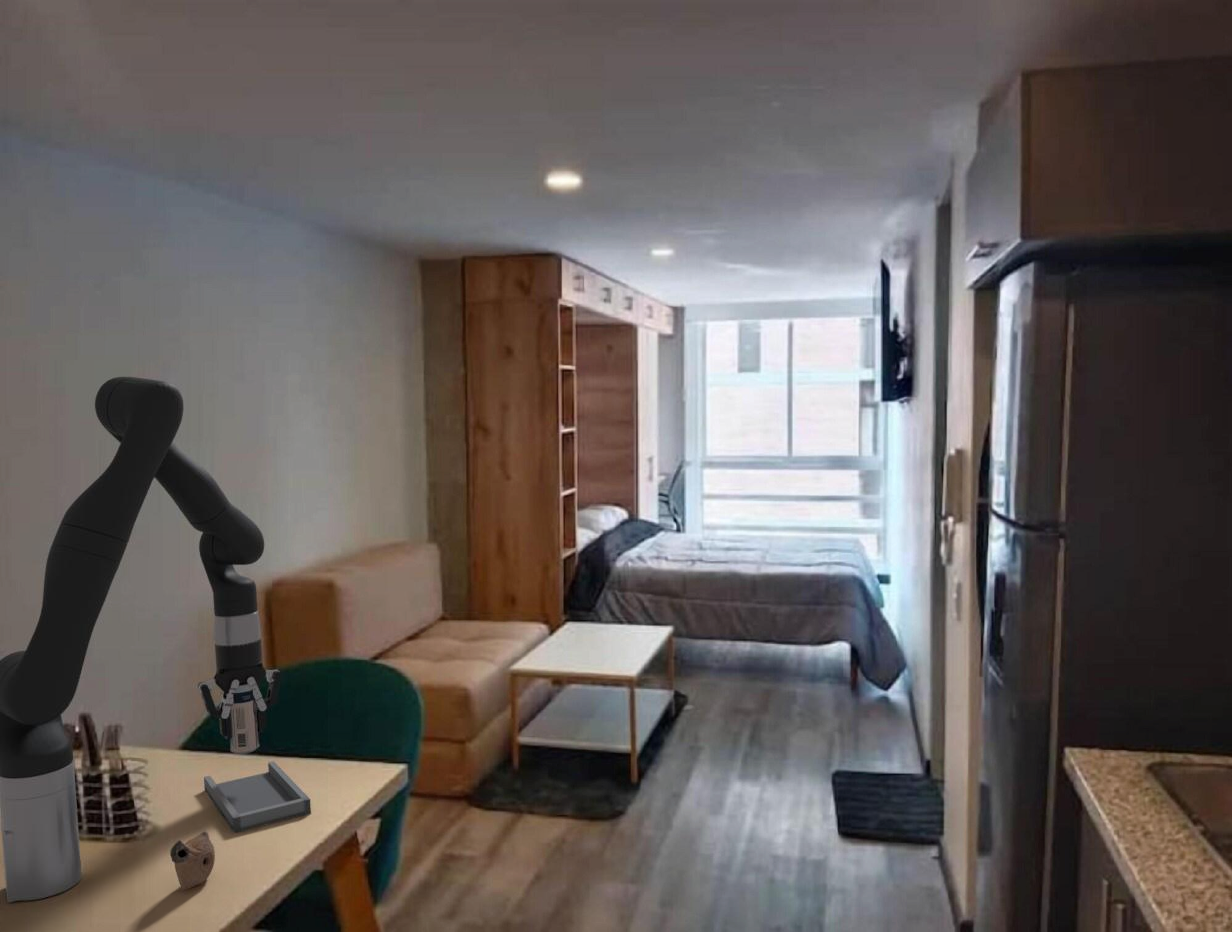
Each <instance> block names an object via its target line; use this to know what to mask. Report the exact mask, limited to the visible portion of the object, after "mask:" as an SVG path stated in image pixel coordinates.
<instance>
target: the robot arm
mask: <svg viewBox="0 0 1232 932" xmlns="http://www.w3.org/2000/svg"><path fill="white" fill-rule="evenodd" d="M94 400H95V401H94V410H95V411H94V412H95V414H96V417H97V420H98V422H100V424H101V425H102V427H103V428H104V429H105V430H106V431H107V432H108V433H109V434H110V435H111V436H112V437H113V438H114V439H115V440H116V441H118V443H120V444H119V446H118V449H117V451H116V453H115V455H114V456H113V459H112V460H111V462H110V464H109V465H108V466H107V468H105V470H104V471H103V472H102V473H101V475H99V476H98V477H97V479H96V480H94V481H93V483H91V484H90V485H89V486H87V488H86V489H85V490H84V491H83V492H82V493H81V494H79V496H77V498H76V499H75V500H74V501H73V503H72V504H71V505H70V506H69V507H68V509H67V510H66V511H65V513H64V515H63V517H62V518H61V521H60V524H59V525H58V528H57V531H56V533H55V536H54V538H53V541H52V544H51V546H50V549H49V552H48V555H47V559H46V562H45V563H46V564H45V571H44V578H43V579H44V580H43V592H42V604H41V610H40V615H39V617H38V621H37V624H36V627H35V630H34V631H33V634H32V636H31V638H30V641H29V643H28V645H27V646H26V649H25V650H19V651H15V652H12V653H9V654H7V655H6V656H4V657H3V658H1V659H0V828H1V829H0V831H1V841H2V842H1V843H2V855H3V856H2V857H3V868H4V881H5V883H4V884H5V892H6V902H7V903H13V902H17V901H33V900H39V899H40V900H41V899H46V898H47V897H53V896H54V895H57V894H60V893H63V892H65V891H67V890H69V889H70V888H72V887H74V886H75V885H77V883H78V882H80V880H81V878H82V859H81V851H80V850H81V847H80V846H81V845H80V836H79V835H80V834H79V822H78V821H79V819H78V808H77V807H78V805H77V794H76V789H77V788H76V779H75V775H76V774H75V762H74V761H75V760H74V750H73V743H72V741H71V739H70V737H69V735H68V734H67V731H66V730H65V729H66V728H65V725H64V723H63V720H62V714H63V713H64V712H65V711H66V710H67V709H68V708H69V706H70V705H71V702H72V701H73V699H74V697H75V695H76V692H77V690H78V689H77V688H78V685H79V682H80V679H81V675H82V669H83V666H84V664H85V659H86V655H87V651H88V648H89V644H90V641H91V638H92V635H93V632H94V628H95V626H96V624H97V622H98V621H97V620H98V618H99V616H100V615H101V614H100V613H101V611H102V609H103V607H104V604H105V602H106V599H107V596H108V594H109V591H110V589H111V587H112V586H111V585H112V583H113V581H114V578H115V576H116V573H117V572H118V569H119V566H120V564H121V562H122V560H123V556H124V554H125V552H126V549H127V546H128V543H129V542H130V538H131V535H132V532H133V530H134V526H135V523H136V521H137V518H138V516H139V513H140V512H141V509H142V507H143V505H144V501H145V500H146V497H147V495H148V492H149V490H150V487H151V485H152V483H153V480H154V479H155V480H156V482H158V483H159V484H160V486H161V487H162V488H163V489H164V490H165V492H167V495H169V496H170V498H171V499H172V500H173V502H174V503H175V504H176V506H177V507H178V509H179V510H180V512H182V514H183V516H184V517H185V519H186V520H187V521H188V523H189V524H190V525H191V527H193V528H194V529H195V530H196V531H198V532H201V536H200V539H199V542H198V551H199V556H200V559H201V563H202V565H203V568H204V571H205V574H206V576H207V578H208V579H207V580H208V583H209V585H210V587H211V589H212V595H213V596H212V598H213V613H214V620H213V621H214V623H213V632H214V633H213V641H214V652H215V666H216V667H215V668H216V671H215V675H214V676H213V679H210V680H207V681H205V682H204V681H201V682H198V685H197V687H198V690H199V692H200V693H199V694H200V696H201V698H202V701H203V704H204V707H205V710H206V712H207V713H208V715H209V716H210V717H212V718H219V732H220V734H221V735H222V737H224V738H225V739H226V740H230V739H231V726H230V718H229V713H230V709H231V706H232V705H233V702H234V701H233V694H231V693H233V692H234V690H237V689H238V686H239V685H245V684H249V686H250V687H252V688H255V689H253V695H254V698H255V700H256V710H257V726H258V734H259V733H263V732H264V729H266V728H267V713H266V712H267V709H268V708H270V707H272V706H275V705H277V701H278V696H279V692H280V687H281V683H282V682H281V680H282V676H283V674H282V672H281V671H280V670H278V669H276V668H274V669H270V670H269V669H266V667H264V664H263V650H262V647H263V646H262V635H261V632H262V631H261V622H260V616H259V611H258V610H259V609H258V597H257V593H258V592H257V584H256V582H255V580H253V579H252V578H250V577H246V576H243V575H241V574H239V573H237V571H236V568H235V566H246V565H247V566H248V565H253V564H254V563H256V562H257V561H259V560H260V559H261V557H262V556H263V553H264V550H265V539H264V536H263V535H264V534H263V533H262V531H261V529H260V527H259V526H257V524H256V523H255V522H254V521H253V520H252V519H251V518H249V517H248V515H246V514H245V513H243V511H242V510H240V509H239V508H238V507H236V506H235V505H234V504H232V503H231V502H230V501H229V499H228V498H227V496H226V494H225V493H224V491H223V490H222V489H221V487H220V486H219V484H218V482H217V481H216V479H214V477H213V476H212V475H211V473H210V472H208V470H207V469H205V468H204V466H202V465H201V464H200V463H198V461H196V460H195V459H194V458H192V457H191V456H190V455H189V454H188V453H186V452H185V451H184V450H183V449H182V448H180V447H179V446H178V445H177V444H176V443H175V441H174V439H175V438H176V435H177V433H178V431H179V429H180V426H181V423H182V420H183V416H184V414H183V413H184V398H183V396H182V393H181V392H180V390H179V389H178V388H177V386H175V385H174V384H173V383H171V382H167V381H163V380H157V379H152V378H143V377H136V376H116V377H113V378H110V379H108V380H106V381H105V382H104V383H102V385H101V386H100V387H99V389H98V391H97V394H96V395H95V399H94ZM265 677H266V681H267V682H268V687H267V692H266V697H265V698H263V695H262V693H261V691H260V688H259V687H260V685H261V684H262V683H263V681H264V679H265ZM216 686H217V687H218V688H219V689H220V690H222V691H223V692H222V696H221V698H220V699H221V700H220V704H219V705H220V706H219V708H218V707H216V704H215V701H214V698H213V696H212V694H214V692H215V687H216Z"/></svg>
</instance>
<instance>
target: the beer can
mask: <svg viewBox="0 0 1232 932" xmlns="http://www.w3.org/2000/svg"><path fill="white" fill-rule="evenodd" d="M253 689H255V688H252V687H250V686H249V684H245V685H239V686H238V689H237V690H234V692H233V693H231V694H233V701H234V702H233V705H232V706H231V709H230V713H229V716H228V717H229V718H230V726H231V739H229V742H230V749H229V750H230V752H231V753H234V754H237V755H244V754H245V755H246V754H249V753H253V752H255V751H256V750H257V749H258V748H259V747H260V742H259V732H258V726H257V710H256V700H255V698H254V695H253Z"/></svg>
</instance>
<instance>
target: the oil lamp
mask: <svg viewBox="0 0 1232 932" xmlns="http://www.w3.org/2000/svg"><path fill="white" fill-rule="evenodd" d="M215 853H216V852H215V847H214V845H213V843H212V841H211V839H210V836H209V833H208V832H207V831H206V830H205V831H202V832H201V833H199V834H197V835H196V836H194V837H193V838H191V839H189V840H187V841H186V842H185V843H183V841H182V840H177V841H176V842H175V843H174V845H173V846H172V847H171V849H170V853H169V855H170V858H171V861H172V862H173V863H174V869H175V873H176V877H177V879H178V883H179V886H180V887H181V889H182V890H184V891H185V890H188V889H190V888H193V887H195V886H199V885H200V884H203V882H205V881H206V880H207V879H208V878H209V876H210V875H211V874H212V870H213V868H214V865H215V861H216V859H215V858H216V854H215Z"/></svg>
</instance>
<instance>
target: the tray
mask: <svg viewBox="0 0 1232 932" xmlns="http://www.w3.org/2000/svg"><path fill="white" fill-rule="evenodd" d="M267 768H268V771H267V772H262V773H258V774H254V775H251V776H250V775H249V776H247V777H241V778H236V779H233V780H229V781H225V782H220V783H216V782H215V780H214V778H212V776H211V775H205V776H203V785H204V791H205V793H206V795H207V796H208V797H209V798H210V800H211V802H212V803H213V804H214V806H215V807H216V809H217V810H218V812H219V813H220V814H221V816H222V818H223V819H224V820H225V821H226V823H227V825H228V826H229V827H230V829H231V830H232V832H233V833H234V834H237V833H241V832H245V831H248V830H252V829H257V828H261V827H265V826H267V825H271V824H275V823H279V822H283V821H287V820H291V819H294V818H298V817H302V816H306V815H311V814H312V812H311V811H312V808H311V807H312V806H311V798H310V797H309V796H308V795H307V794H306V793H305V791H304V790H302V789H301V788H300V787H299V786H298V785H297V783H295V782H294V781H293V780H292V779H291V778H290V776H288V774H287V773H286V772H285V771H284V770H283V769H282V768H281V767H280V766H279V765H278V764H277V763H276V762H275V761H274V760H272V761H267Z"/></svg>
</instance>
